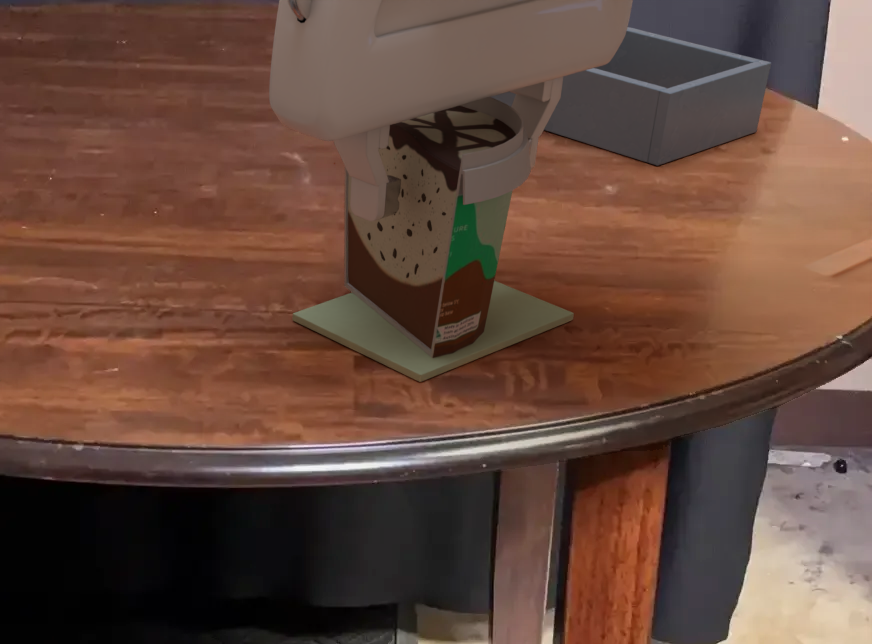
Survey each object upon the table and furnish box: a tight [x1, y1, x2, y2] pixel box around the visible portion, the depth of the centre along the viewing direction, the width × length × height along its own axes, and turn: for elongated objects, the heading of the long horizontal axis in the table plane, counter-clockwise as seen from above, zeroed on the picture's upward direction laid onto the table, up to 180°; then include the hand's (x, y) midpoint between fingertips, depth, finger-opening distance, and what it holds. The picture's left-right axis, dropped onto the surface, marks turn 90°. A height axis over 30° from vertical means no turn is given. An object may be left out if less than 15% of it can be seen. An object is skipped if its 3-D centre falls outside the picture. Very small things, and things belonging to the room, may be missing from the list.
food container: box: [343, 97, 532, 358], centre depth 73 cm, size 12×6×10 cm, turn 22°
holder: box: [491, 26, 772, 167], centre depth 102 cm, size 17×11×4 cm, turn 39°
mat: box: [292, 280, 575, 383], centre depth 76 cm, size 9×11×1 cm
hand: (444, 192), depth 72 cm, fingers open, 8 cm apart
